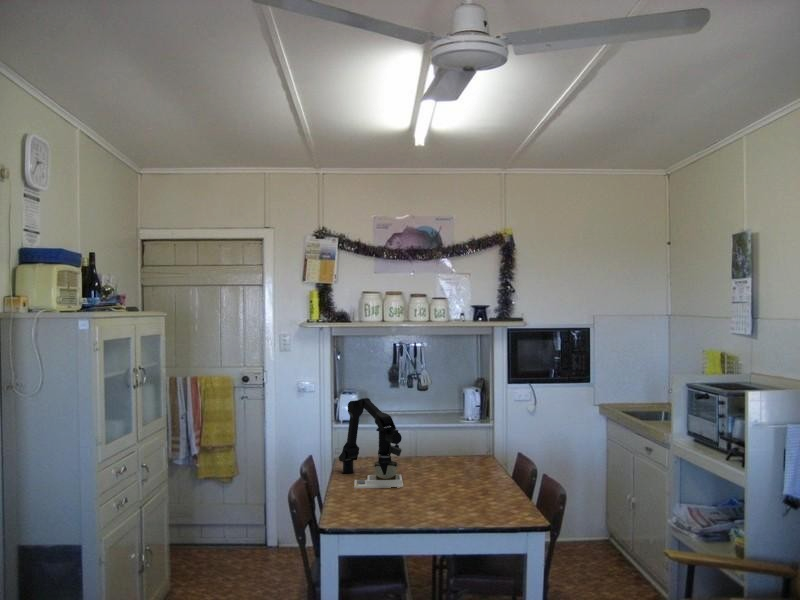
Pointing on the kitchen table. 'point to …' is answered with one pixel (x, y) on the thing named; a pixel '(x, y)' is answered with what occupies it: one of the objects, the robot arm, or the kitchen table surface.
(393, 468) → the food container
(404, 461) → the kitchen table surface
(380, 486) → the dock
